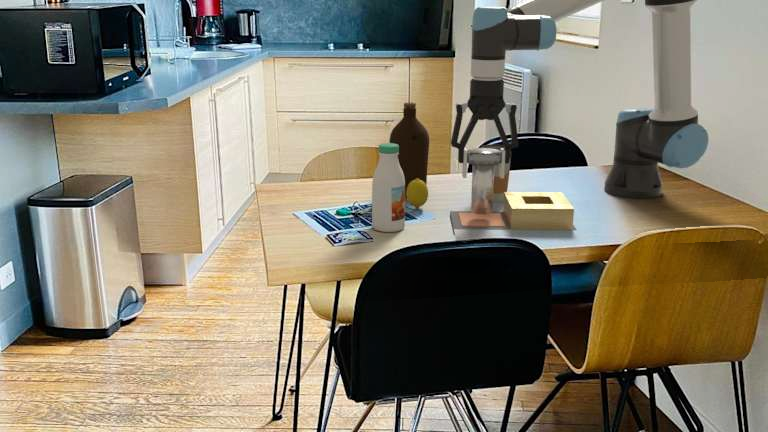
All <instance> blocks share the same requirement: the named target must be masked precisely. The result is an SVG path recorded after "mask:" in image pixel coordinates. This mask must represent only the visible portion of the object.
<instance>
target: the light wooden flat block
mask: <svg viewBox="0 0 768 432" xmlns="http://www.w3.org/2000/svg"><path fill="white" fill-rule="evenodd" d="M502 202H503V203H502V204H503V205H502V207H503V208H502V212H503V213H504V215H505V217H506V220H507V222H508V224H509V226H510V229H517V230H518V231H519V230H521V231H526V230H528V231H534V230H535V231H573V230H572V229H573V225H574V215H575V208H574V207H573V206H572V204H571V203H570V201H569V200H568V199H567V198H566V196H565V195H564V193H563V192H562V191H559V192H558V191H557V192H555V191H553V192H551V191H550V192H549V191H548V192H547V191H539V192H538V191H537V192H536V191H507V192H504V201H502ZM517 230H516V231H517Z"/></svg>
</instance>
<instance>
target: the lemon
mask: <svg viewBox="0 0 768 432" xmlns="http://www.w3.org/2000/svg"><path fill="white" fill-rule="evenodd" d="M406 196H407V199H406V201H407V202H408V204H410V206H413V207H414V208H415V209H419V208H420V207H422V206H424V205H425V204H426V203H427V201H428V197H429V190H428V185H426V184H425V183H424V182H423V181H422V180H420V179H419V178H416V179H415V180H413V181H411V182H410V183H409V185H408V187H407V192H406Z"/></svg>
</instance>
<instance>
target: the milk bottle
mask: <svg viewBox="0 0 768 432" xmlns="http://www.w3.org/2000/svg"><path fill="white" fill-rule="evenodd" d="M398 152H399V145H397V144H394V143H390V142H387V143H386V142H385V143H381V144H378V155H379V160H378V163H377V166H376V168H375V170H374V172H373V176H372V181H371V182H372V184H371V185H372V186H371V188H372V189H371V197H372V198H371V223H372V224H371V225H372V228H373V229H374V230H375V231H377V232H383V233H395V232H399V231H403V229H405V226H406V225H405V224H406V199H405V178H404V174H403V171H402V169H401V167H400V164H399V161H398V154H399V153H398Z"/></svg>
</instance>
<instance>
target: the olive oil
mask: <svg viewBox="0 0 768 432" xmlns="http://www.w3.org/2000/svg"><path fill="white" fill-rule="evenodd" d="M416 105H417V104H416V102H412V101H411V102H403V109H402V110H403V114H402V115H403V116H402V118H401V120H400V121H399V122H398V123H397V124H396V125H395V126H394V127H393V128H392V130H391V131H390V132H391V133H390V135H389V143H394V144H397V145H399V152H398V153H399V154H398V161H399V164H400V167H401V169H402V171H403V174H404V178H405V200H407V196H406V192H407V187H408V185H409V183H410V182H411V181H413V180H415V179H416V178H419V179H420V180H422V181H423V182H424V183H425V184H426V185H427V181H428V179H427V178H428V166H429V165H428V164H429V154H430V153H429V151H430V136H429V135H430V134H429V132H428V130H427V128H426V127H425V126H424V125H423V124H422V122H421V121H420V120H419V119H418V118H417V107H416ZM427 186H428V185H427Z"/></svg>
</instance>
